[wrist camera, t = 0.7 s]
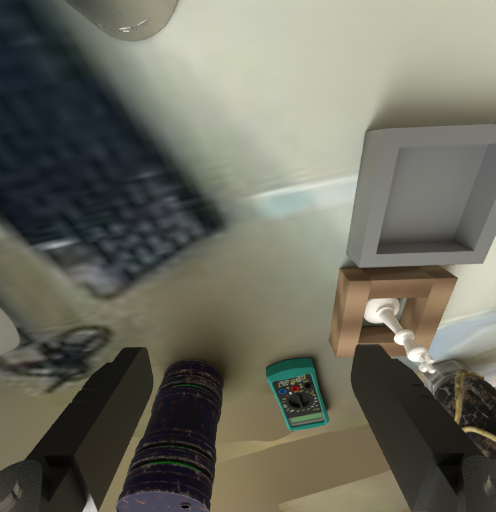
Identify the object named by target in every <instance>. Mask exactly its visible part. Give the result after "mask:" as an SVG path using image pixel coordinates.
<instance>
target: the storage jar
mask: <svg viewBox="0 0 496 512" xmlns="http://www.w3.org/2000/svg"><path fill="white" fill-rule="evenodd" d="M222 389H223V377H222V375H221V373H220V372H219V370H217V369H216V368H215V367H214V366H212V365H210V364H208V363H206V362H203V361H198V360H184V361H179V362H177V363H175V364H173V365H171V366H170V367H169V368H168V369H167V370H166V372H165V375H164V378H163V381H162V383H161V385H160V387H159V389H158V391H157V394H156V397H155V401H154V403H153V406H152V410H151V414H152V415H151V417H150V420H149V423H148V426H147V428H146V431H145V434H144V437H143V438H142V439H141V440H140V442H139V444H138V446H137V448H136V450H135V455H134V458H133V459H132V461H131V464H130V466H129V469H128V472H127V477H126V480H125V482H124V485H123V491H122V492H121V494H120V496H119V499H118V501H117V504H116V512H210V499H211V495H212V486H213V484H214V476H215V463H216V449H215V441H216V432H217V424H218V422H219V420H220V415H221V407H222V399H223V398H222Z"/></svg>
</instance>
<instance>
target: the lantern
mask: <svg viewBox="0 0 496 512" xmlns="http://www.w3.org/2000/svg"><path fill="white" fill-rule="evenodd" d="M432 366H433V368H434V369H435V370H436V371H435V372H434V373H429V372H428V370H426V372H424V373H423V379H424V386H425V387H427V388H428V389H429V390H430V392H431V393H432V394H433V395H434V398H435V399H437V400H438V401H439V402H440V403H441V405H442V406H443V407H444V408H445V409H446V411H447V412H448V413H449V414H450V415H451V416H452V418H453V419H454V420H455V421H456V422H457V424H458V425H459V426H460V427H461V428H462V429H463V431H464V432H465V433H466V434H467V435H468V437H469V438H470V439H471V440H472V441H473V443H474V444H475V445H476V446H477V447H478V448H479V450H480V451H481V452H482V453H483V454H484V455H485V456H486V457H488V458H491V459H494V460H496V389H495V388H494V387H493V386H492V385H490V384H489V383H488V382H487V381H485V380H484V377H483V376H481V375H479V374H477V373H475V372H472V371H471V370H470V369H469V368H468V367H467V366H466V365H465V364H464V363H461V362H458V361H455V360H450V361H446V362H442V363H438V364H434V365H432Z"/></svg>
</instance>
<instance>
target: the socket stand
mask: <svg viewBox="0 0 496 512" xmlns="http://www.w3.org/2000/svg"><path fill="white" fill-rule="evenodd" d="M457 279H458V278H457V277H456V276H454V275H452V274H451V273H449V272H447V271H446V270H444V269H443V268H441V267H439V266H438V265H437V266H407V267H376V268H346V269H340V271H339V277H338V284H337V291H336V297H335V304H334V311H333V317H332V324H331V331H330V337H329V342H330V345H331V347H332V349H333V352H334V354H335V356H336V358H347V357H354V353H355V347H356V345H358V344H379V345H381V346H382V347H383V348H384V350H385V351H386V352H387V354H388V355H389V356H407V353H406V350H405V347H404V345H399V344H398V343H396V342H395V341H394V337H395V335H396V334H395V333H394V332H393V331H392V330H391V329H390V328H389V327H388V326H372V327H362V323H363V318H364V314H365V309H366V305H367V300H368V299H386V298H407V300H406V304H405V307H404V310H403V313H402V316H401V320H400V325H401V326H402V328H403V329H404V330H411V331H412V332H413V333H414V336H415V337H414V341H416V342H417V343H419V344H421V345H423V346H424V347H426V348H427V349H428V350H429V348H430V345H431V343H432V340H433V338H434V335H435V333H436V330H437V328H438V326H439V323H440V321H441V318H442V316H443V313H444V311H445V308H446V306H447V303H448V301H449V299H450V296H451V294H452V291H453V289H454V286H455V284H456V281H457Z"/></svg>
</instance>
